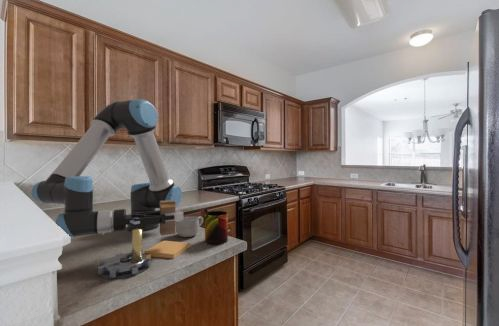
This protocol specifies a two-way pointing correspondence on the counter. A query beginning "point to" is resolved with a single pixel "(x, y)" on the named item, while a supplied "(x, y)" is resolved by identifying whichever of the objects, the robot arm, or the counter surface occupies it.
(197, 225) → the teacup
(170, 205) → the link block
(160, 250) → the light orange square slab
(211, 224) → the mug
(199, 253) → the counter surface
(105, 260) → the sprocket
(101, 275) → the sprocket plinth
